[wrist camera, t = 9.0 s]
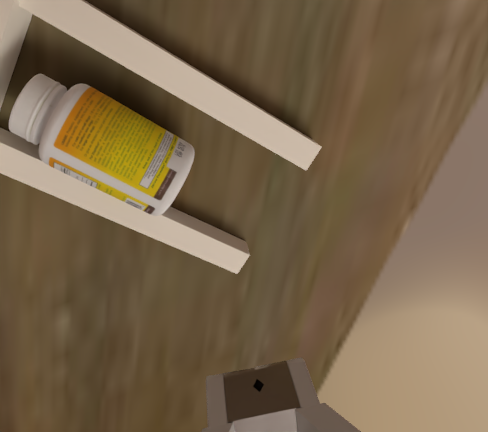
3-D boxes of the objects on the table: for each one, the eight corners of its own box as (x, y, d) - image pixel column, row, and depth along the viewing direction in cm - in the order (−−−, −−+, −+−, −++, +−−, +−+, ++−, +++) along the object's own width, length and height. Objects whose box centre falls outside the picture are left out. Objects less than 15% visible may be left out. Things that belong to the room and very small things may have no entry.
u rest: (234, 259, 32) (238, 279, 29) (-46, 136, 25) (-75, 147, 22) (312, 139, 28) (325, 150, 25) (9, -46, 21) (-18, -59, 18)
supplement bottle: (205, 133, 25) (56, 43, 22) (186, 189, 21) (3, 92, 18) (172, 179, 29) (41, 109, 25) (151, 233, 25) (-5, 160, 22)
